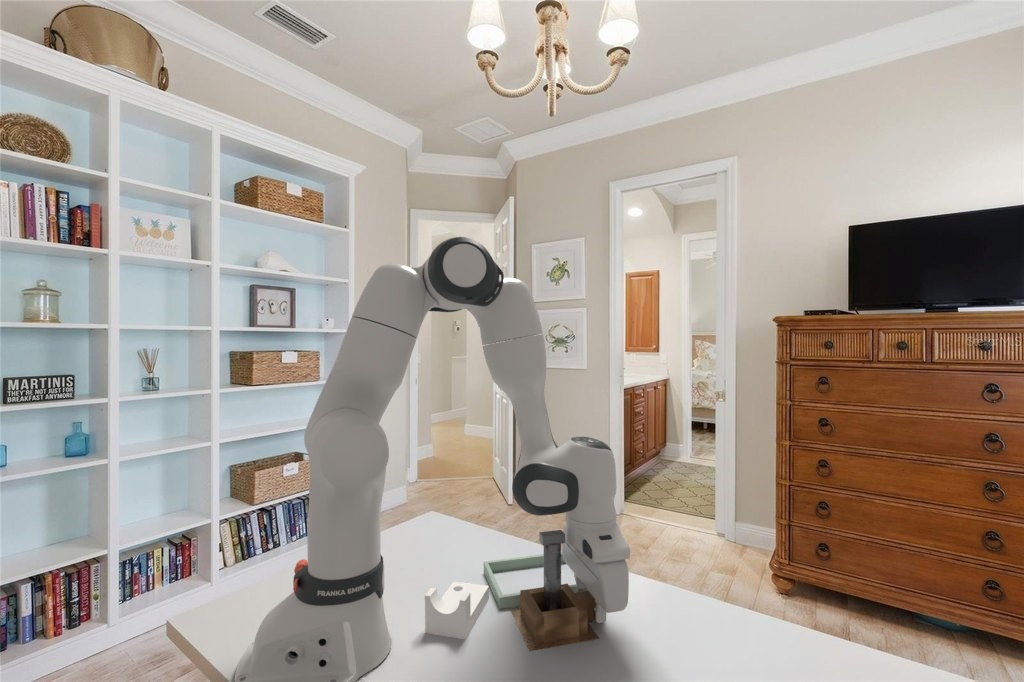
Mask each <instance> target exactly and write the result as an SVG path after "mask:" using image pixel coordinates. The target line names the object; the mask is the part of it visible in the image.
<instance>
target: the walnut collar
mask: <svg viewBox="0 0 1024 682" xmlns="http://www.w3.org/2000/svg"><path fill="white" fill-rule="evenodd" d="M569 585H570V584H569V583H561V609H559V610H552V611H546V612H544V586H541V587H535V588H534V587H533V588H528V589H521V590H520V589H519V592H520V606H519V608H520V613H521V615H522V617H523V619H524V621H525V623H526V625H527V627H528V629H529V631H530V633H531V635H532V637H533V639H534V641H535V643H542V642H547V641H553V640H559V639H565V638H571V637H576V636H582V635H587V622H588V623H590V622H597V621H596V620H595V619H594V617H593V608H596V604H597V603H596V602H595V598H594V597H593V596H592V595H591V593H590V592H589V591H583V592H577V593H574V592H573V590H572V589H571V588H570V586H569Z"/></svg>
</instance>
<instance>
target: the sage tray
mask: <svg viewBox="0 0 1024 682" xmlns="http://www.w3.org/2000/svg"><path fill="white" fill-rule="evenodd" d="M561 565H567V564H566V562H565V561H564V559H563V555H562V551H561ZM536 568H544V553H542V554H535V555H527V556H526V555H525V556H519V557H512V558H511V557H509V558H504V559H496V560H488V561H483V575H484V576H485V577H486V580H487V582H488V584H489V585H488V586H489V589H491V592H492V594H493V596H494V599H495V602H496V603H497V606H498V608H499V610H503V609H508V608H509V609H510V608H514V607H515V608H516V607H520V591H519V592H513V593H508V594H503V593H502V590H501V588H500V586H499V583H498V582H497V579H496V577H495V575H494V574H496V573H497V574H498V573H507V572H514V571H521V570H526V569H527V570H529V569H536ZM568 585H569V586H570V588H571V589H572V590H573V592H574V593H577V586H576V583H575V584H568Z"/></svg>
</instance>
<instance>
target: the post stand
mask: <svg viewBox="0 0 1024 682" xmlns="http://www.w3.org/2000/svg"><path fill="white" fill-rule="evenodd" d="M538 535H539V539H538V540H539V543H540V544H541V545H542V547H543V554H544V567H543V587H544V612H546V611H552V610H559V609H561V585H562V564H561V552H562V543H565V534H564V532H563V530H562V529H558V530H547V531H546V530H545V531H539V533H538ZM509 610H510V613H511V614H512V617H513V619H514V621H515V623H516V626H517V628H518V630H519V632H520V634H521V636H522V639H523V641H524V643H525V646H526V647H527V649H528V651H529V652H533V651H538V650H545V649H551V648H555V647H561V646H567V645H572V644H577V643H578V644H579V643H583V642H588V641H589V642H590V641H595V640H600V637H599V635H598V634H597V632H596V631H595V630H594V629H593V627H592V626H591V624H590V622H587V635H582V636H576V637H571V638H565V639H559V640H553V641H547V642H542V643H535V641H534V639H533V637H532V635H531V633H530V631H529V629H528V627H527V625H526V623H525V621H524V619H523V617H522V615H521V613H520V607H519V608H516V607H515V608H511V609H510V608H509Z"/></svg>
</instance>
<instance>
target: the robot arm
mask: <svg viewBox="0 0 1024 682" xmlns="http://www.w3.org/2000/svg"><path fill="white" fill-rule="evenodd" d="M461 310H467V311H468V312H470V314H471V315H472V316H473V317H474V319H475V321H476V322H477V325H478V328H479V332H480V333H479V334H480V338H481V339H480V340H481V343H482V344H481V345H482V350H483V355H484V359H485V362H486V365H487V367H488V371H489V373H490V375H491V378H492V380H493V383H495V385H496V386H498V387H499V388H500V389H501V390H502V391H503V393H505V394H506V396H507V397H508V398H509V401H510V403H511V405H512V408H513V411H514V412H513V413H514V417H515V421H516V425H517V426H516V427H517V430H518V433H519V434H518V436H519V439H520V444H521V445H520V453H519V458H518V462H517V468H516V471H515V473H514V478H513V479H512V487H511V489H512V490H511V491H512V495H513V498H514V500H515V503H516V504H517V505H518V506H519V508H520V509H522V510H523V512H526V513H527V514H529V515H534V516H537V517H538V516H540V517H541V516H550V515H551V516H552V515H559V514H564V513H565V525H564V526H563V530H562V531H563V532H564V534H565V543H562V544H561V552H562V555H563V559H564V561H565V562H566V564H565V565H567V566H568V567H569V569H570V570H571V571H572V572H573V577H574V581H575V584H576V586H577V592H583V591H589V592H590V593H591V595H592V596H593V597H594V598H595V602H596V603H597V604H596V608H593V617H594V619H595V620H596V621H595V622H596V623H598V624H601V623H605V622H606V621H607V613H608V614H609V613H617V612H622V611H624V610H625V609H626V608H627V607H628V604H629V591H630V590H629V584H630V583H629V581H630V580H629V578H630V576H629V575H630V574H629V566H628V564H627V563H628V562H627V561H626V560H629V559H630V558H631V548H630V545H629V543H628V541H626V539H625V537H624V536H623V533H622V532H621V529H620V526H619V525H618V523H617V511H616V507H615V498H616V494H617V468H616V460H615V456H614V452H613V450H612V448H611V447H610V446H609V445H608V444H607V443H605V442H604V441H602V440H599V439H596V438H594V437H588V436H574V437H571V438H570V439H569V440H568V441H567V442H565V443H563V444H562V445H559V446H558V444H557V443H556V441H555V440H554V437H553V433H552V429H551V425H550V420H549V415H548V409H547V405H546V404H547V403H546V400H545V385H546V378H547V353H546V352H547V350H546V341H545V337H544V336H545V335H544V331H543V327H542V322H541V320H540V315H539V311H538V309H537V306H536V303H535V299H534V297H533V295H532V292H531V289H530V287H529V286H528V284H526V282H524V281H523V280H521V279H519V278H515V277H505V275H504V271H503V270H502V269H501V267H499V265H498V264H497V262H495V260H494V258H493V257H492V255H491V253H490V252H489V250H487V248H486V247H485V246H484V245H483V244H481V243H480V242H479V241H478V240H476V239H473V238H472V237H467V236H456V237H455V236H454V237H450V238H447V239H445V240H444V241H442V242H440V243H439V244H437V246H436V247H434V248H433V250H432V252H431V254H430V255H429V256H428V258H427V259H426V260H425V261H424V263H422V265H420V266H417V267H411V266H408V265H406V264H402V263H386V264H382V265H380V266H379V267H378V268H376V270H375V271H374V272H373V274H372V275H371V277H370V278H369V280H368V282H367V283H366V285H365V287H364V288H363V290H362V292H361V294H360V296H359V298H358V300H357V303H356V305H355V307H354V310H353V313H352V315H351V317H350V321H349V323H348V326H347V328H346V332H345V334H344V337H343V340H342V342H341V345H340V348H339V350H338V353H337V357H336V359H335V361H334V363H333V366H332V367H331V368H332V369H331V370H330V373H329V375H328V376H327V379H326V381H325V382H324V385H323V387H322V390H321V392H320V394H319V396H318V399H317V401H316V403H315V405H314V407H313V410H312V413H311V415H310V417H309V420H308V422H307V425H306V427H305V431H304V436H303V438H304V439H303V440H304V446H305V449H306V452H307V456H308V462H309V491H308V492H309V493H308V494H309V495H308V508H307V510H308V511H307V518H306V521H307V522H306V523H307V524H306V525H307V526H306V527H307V528H306V529H307V536H306V537H307V538H306V539H307V542H306V543H307V559H306V558H304V559H300V560H298V561H297V562H296V565H295V567H294V569H293V572H294V575H293V586H292V587H293V589H292V590H293V592H291V593H290V594H289V595H288V596H286V597H285V598H284V599H283V600H282V601H280V602H279V603H278V604H277V605H275V606H274V607H273V608H271V609H270V611H268V613H267V614H266V615H265V616H264V617H263V620H262V621H261V624H260V625H259V628H258V630H257V632H256V635H255V638H254V641H253V642H252V643H250V645H249V646H248V647H247V648H246V650H244V652H243V654H242V656H241V658H240V660H239V661H238V663H237V666H236V671H235V674H234V681H233V682H356V681H357V680H358V679H359V678H360V677H362V676H363V675H365V674H366V673H368V672H370V671H372V670H373V669H375V668H376V667H377V666H378V665H380V664H381V663H382V662H383V661H384V660H385V659H386V658H387V656H389V655H388V654H389V653H390V651H391V649H392V648H391V647H392V637H391V634H390V632H389V629H388V623H387V620H386V614H385V608H384V607H385V606H384V597H383V595H384V590H385V564H384V557H383V556H382V553H381V548H382V547H381V538H382V537H381V536H382V535H381V517H382V516H381V515H382V514H381V513H382V512H381V511H382V510H381V509H382V501H383V494H384V488H385V483H386V481H385V480H386V474H387V473H386V472H387V471H386V470H387V465H388V462H389V459H390V458H389V457H390V456H389V455H390V450H389V449H390V448H389V443H388V438H387V434H386V433H385V431H384V429H383V427H382V425H380V423H381V420H382V418H383V415H384V413H385V412H386V410H387V408H388V406H389V404H390V402H391V400H392V398H393V397H394V395H395V393H396V392H397V390H398V389H399V388H400V386H401V385H402V382H403V380H404V378H405V375H406V371H407V369H408V366H409V363H410V360H411V356H412V353H413V351H414V348H415V345H416V342H417V339H418V335H419V334H420V333H419V332H420V330H421V327H422V324H423V322H424V319H425V318H426V316H427V314H428V313H429V312H439V313H454V312H459V311H461Z"/></svg>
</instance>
